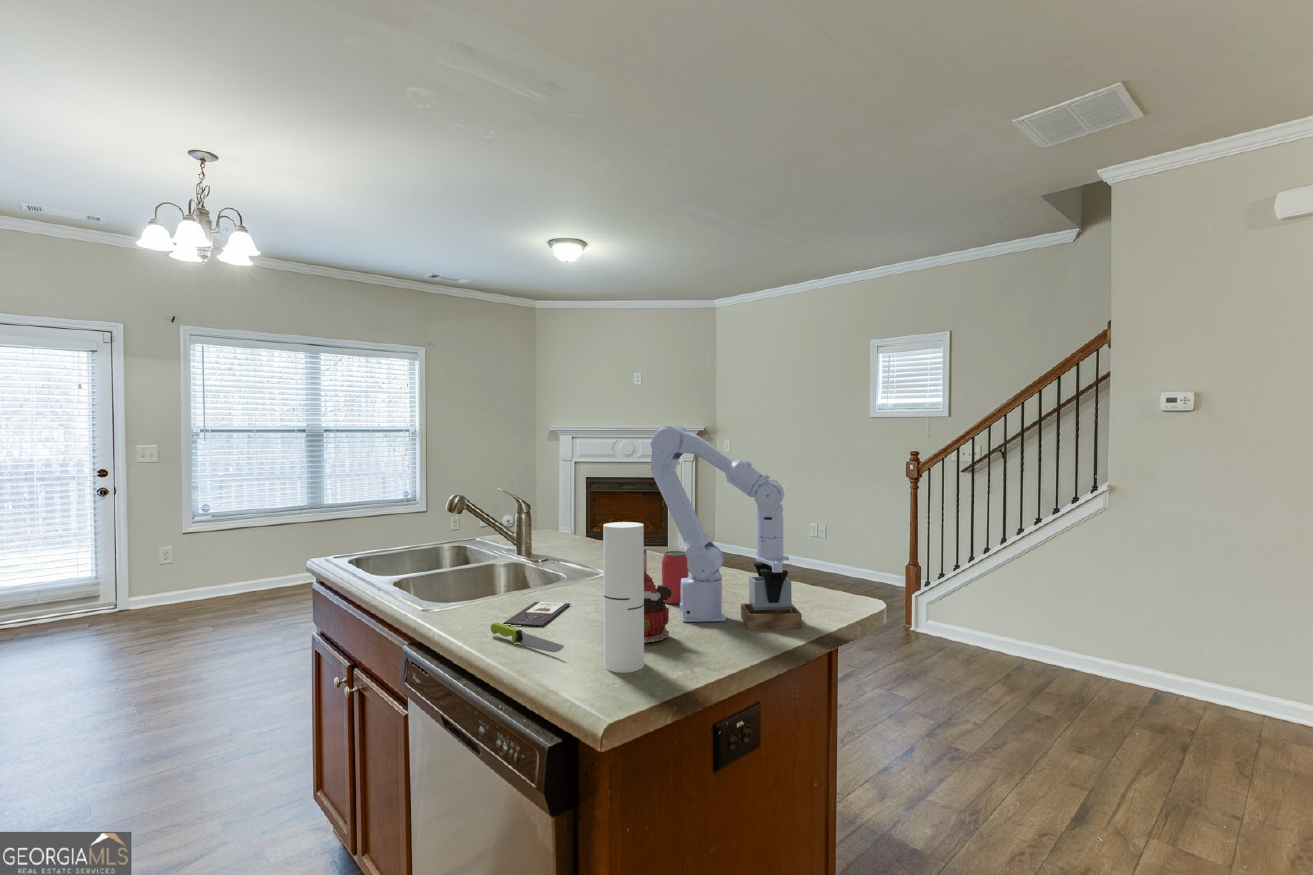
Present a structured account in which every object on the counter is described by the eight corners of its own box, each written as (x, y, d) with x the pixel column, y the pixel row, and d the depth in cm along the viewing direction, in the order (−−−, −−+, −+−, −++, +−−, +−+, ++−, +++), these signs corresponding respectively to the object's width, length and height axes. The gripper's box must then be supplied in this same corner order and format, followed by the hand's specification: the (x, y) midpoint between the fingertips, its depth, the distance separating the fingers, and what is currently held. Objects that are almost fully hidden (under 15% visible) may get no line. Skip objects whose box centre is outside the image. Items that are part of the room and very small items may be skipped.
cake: (674, 632, 131) (674, 545, 131) (667, 647, 122) (667, 554, 122) (624, 629, 133) (623, 544, 133) (613, 644, 124) (613, 552, 124)
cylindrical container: (603, 658, 115) (603, 522, 115) (642, 657, 116) (642, 521, 116) (603, 673, 108) (603, 527, 108) (645, 671, 109) (644, 527, 109)
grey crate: (754, 610, 134) (754, 582, 134) (749, 603, 140) (748, 576, 140) (791, 609, 135) (791, 581, 135) (784, 602, 140) (784, 575, 140)
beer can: (689, 598, 159) (689, 550, 159) (687, 605, 152) (687, 555, 152) (663, 597, 159) (663, 550, 159) (660, 604, 153) (660, 555, 153)
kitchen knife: (567, 660, 116) (567, 644, 116) (561, 662, 115) (561, 645, 115) (495, 636, 130) (495, 621, 130) (490, 637, 129) (490, 622, 129)
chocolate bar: (503, 622, 136) (535, 601, 154) (503, 627, 136) (535, 605, 154) (542, 625, 135) (570, 603, 152) (542, 629, 135) (570, 607, 152)
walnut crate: (748, 631, 133) (747, 614, 133) (740, 619, 142) (740, 603, 142) (801, 630, 133) (801, 614, 133) (791, 618, 142) (791, 602, 142)
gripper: (796, 541, 130) (797, 607, 130) (780, 531, 145) (780, 590, 145) (762, 542, 130) (763, 608, 130) (749, 531, 144) (750, 590, 144)
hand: (770, 598), depth 137 cm, fingers closed on grey crate, 5 cm apart
